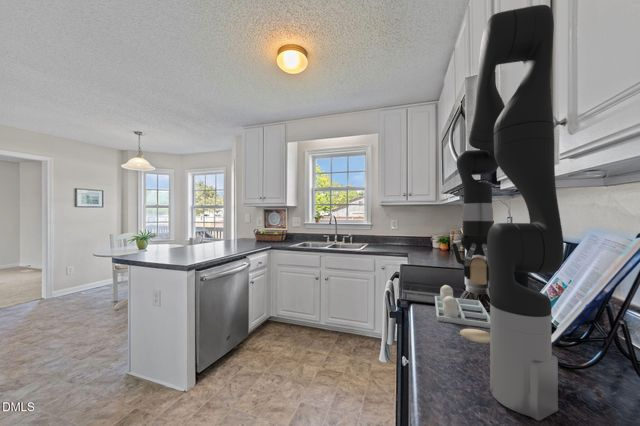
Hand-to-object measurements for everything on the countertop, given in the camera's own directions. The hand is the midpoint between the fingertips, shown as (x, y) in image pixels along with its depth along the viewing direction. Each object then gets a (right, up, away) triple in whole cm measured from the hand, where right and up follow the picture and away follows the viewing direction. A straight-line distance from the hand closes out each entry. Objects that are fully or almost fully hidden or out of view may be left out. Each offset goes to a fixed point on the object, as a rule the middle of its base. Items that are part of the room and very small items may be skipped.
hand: (477, 279), depth 75 cm
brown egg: (0, -1, 0) cm, 1 cm away
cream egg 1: (+4, -16, +27) cm, 32 cm away
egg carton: (+5, -17, +18) cm, 25 cm away
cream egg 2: (-2, -16, +13) cm, 21 cm away
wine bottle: (+24, -17, +17) cm, 34 cm away
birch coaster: (0, -17, 0) cm, 17 cm away
